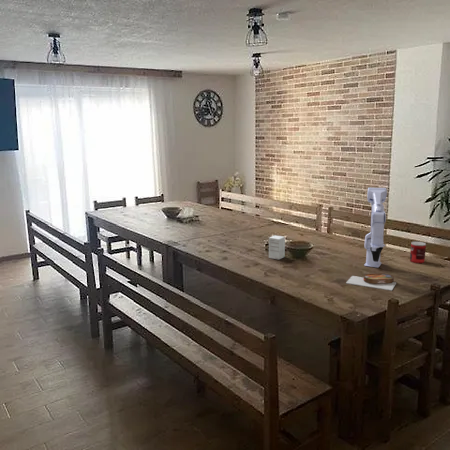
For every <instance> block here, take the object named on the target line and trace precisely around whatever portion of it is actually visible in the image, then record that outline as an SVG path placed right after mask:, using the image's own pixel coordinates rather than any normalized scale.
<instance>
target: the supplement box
mask: <svg viewBox="0 0 450 450" xmlns="http://www.w3.org/2000/svg"><path fill="white" fill-rule="evenodd" d="M285 241H286V236H282V235H272V236H270V237H268V259H269V258H270V259H273V260H274V259H275V260H281V259H283V258H285V253H286V252H285V249H286V246H285V245H286V242H285Z"/></svg>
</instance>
